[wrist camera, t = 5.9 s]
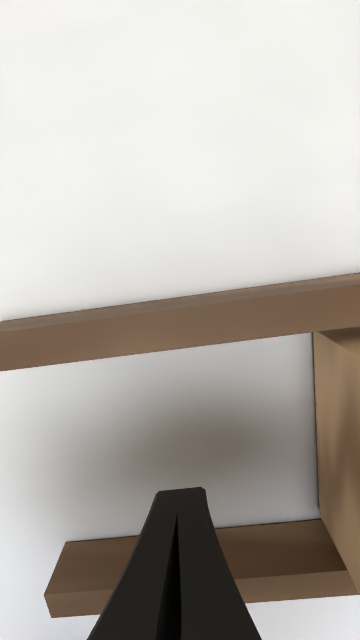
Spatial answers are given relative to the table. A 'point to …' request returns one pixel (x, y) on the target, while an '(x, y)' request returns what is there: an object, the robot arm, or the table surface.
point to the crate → (339, 439)
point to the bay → (176, 333)
